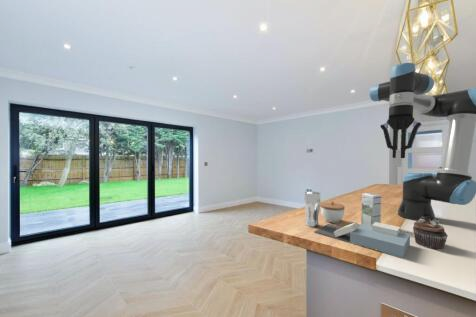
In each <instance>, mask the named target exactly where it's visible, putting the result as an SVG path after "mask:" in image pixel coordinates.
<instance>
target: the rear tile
mask: <svg viewBox="0 0 476 317" xmlns="http://www.w3.org/2000/svg"><path fill="white" fill-rule="evenodd" d="M372 231H377V232H381V233H385V234H389V235H393V236H398V234H399V233H400V232H401V227H400V226H396V225H393V224H387V223H382V222H381V223H378V222H375V223H374V224H373V225H372Z"/></svg>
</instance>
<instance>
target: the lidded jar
mask: <svg viewBox="0 0 476 317" xmlns="http://www.w3.org/2000/svg"><path fill="white" fill-rule="evenodd" d="M345 208H346V207H345V206H344V205H343V204H340V203H337V202H334V201H330V202H321V203H320V212H321V216H322V218H323V219H324V221H326V222H328V223H333V224H336V223H337V224H338V223H339V222H340V221H341V220H342V219H343V218H344V215H345Z"/></svg>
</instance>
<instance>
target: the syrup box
mask: <svg viewBox="0 0 476 317" xmlns="http://www.w3.org/2000/svg"><path fill="white" fill-rule="evenodd" d="M381 216H382V195H381V194H376V193H372V192H365V193H362V194H361V223H360V225H361V224H366V225H370V226H372V225H373V224H374V223H375V222H378V223H382V222H381V221H382V220H381V218H382V217H381Z"/></svg>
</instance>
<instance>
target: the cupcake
mask: <svg viewBox="0 0 476 317" xmlns="http://www.w3.org/2000/svg"><path fill="white" fill-rule="evenodd" d="M413 223H414V224H413V228H412V230H413V231H412V232H413V235H414V241H415V243H416V244H417V245H418V246H422V247H424V248H428V249H432V250H437V249H441V250H444V249H443V248H445V245H446V242H447V240H448V234H447V233H446V231H445V228H444V226H443V225H440V224H439V223H440V220H439V219H438V218H436V217H435V218H432V219H430V218H425V217H423V216H422V217H420V220H415V222H413Z"/></svg>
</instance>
